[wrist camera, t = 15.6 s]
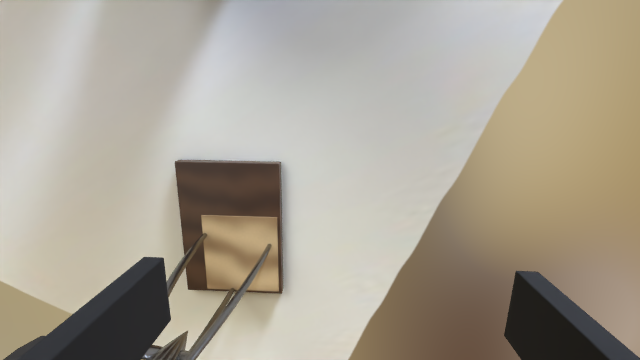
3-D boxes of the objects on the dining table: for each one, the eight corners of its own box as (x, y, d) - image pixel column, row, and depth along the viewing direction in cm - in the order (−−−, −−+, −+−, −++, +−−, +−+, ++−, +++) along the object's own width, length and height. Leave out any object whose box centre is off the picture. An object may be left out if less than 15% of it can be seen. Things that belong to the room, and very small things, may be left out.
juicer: (232, 291, 52) (100, 529, 23) (202, 233, 50) (15, 416, 21) (285, 274, 51) (216, 502, 22) (257, 213, 49) (139, 379, 20)
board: (179, 159, 49) (173, 161, 47) (280, 161, 48) (278, 163, 47) (191, 284, 54) (187, 290, 53) (283, 288, 54) (281, 294, 52)
